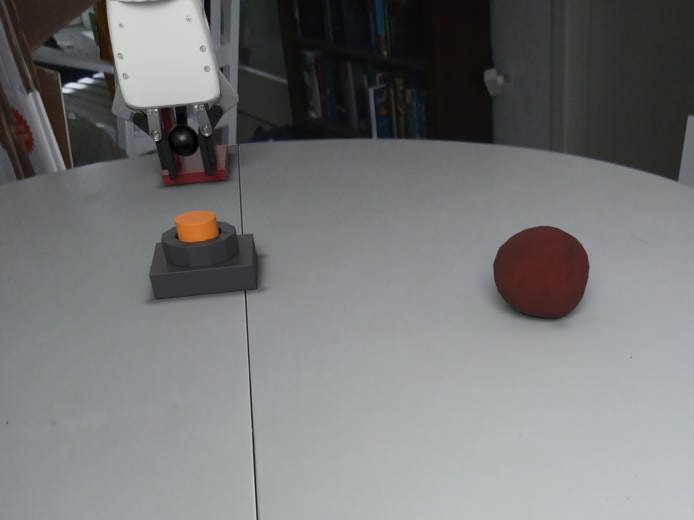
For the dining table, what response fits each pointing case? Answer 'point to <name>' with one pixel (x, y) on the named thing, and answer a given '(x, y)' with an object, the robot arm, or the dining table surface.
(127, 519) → the dining table surface
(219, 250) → the control block
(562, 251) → the potato
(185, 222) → the button
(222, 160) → the red lever stand
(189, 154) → the black ball lever
